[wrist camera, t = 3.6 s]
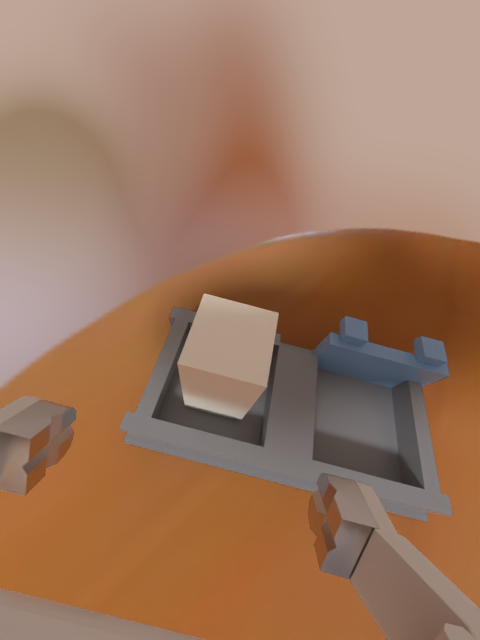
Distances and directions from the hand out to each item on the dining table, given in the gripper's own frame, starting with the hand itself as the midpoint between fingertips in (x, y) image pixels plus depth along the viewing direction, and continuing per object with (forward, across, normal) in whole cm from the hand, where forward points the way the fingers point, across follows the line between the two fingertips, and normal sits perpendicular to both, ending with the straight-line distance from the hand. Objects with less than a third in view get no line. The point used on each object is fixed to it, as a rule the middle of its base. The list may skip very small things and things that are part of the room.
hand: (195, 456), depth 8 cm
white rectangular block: (+10, 0, +3) cm, 11 cm away
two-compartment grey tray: (+11, -5, +4) cm, 13 cm away
